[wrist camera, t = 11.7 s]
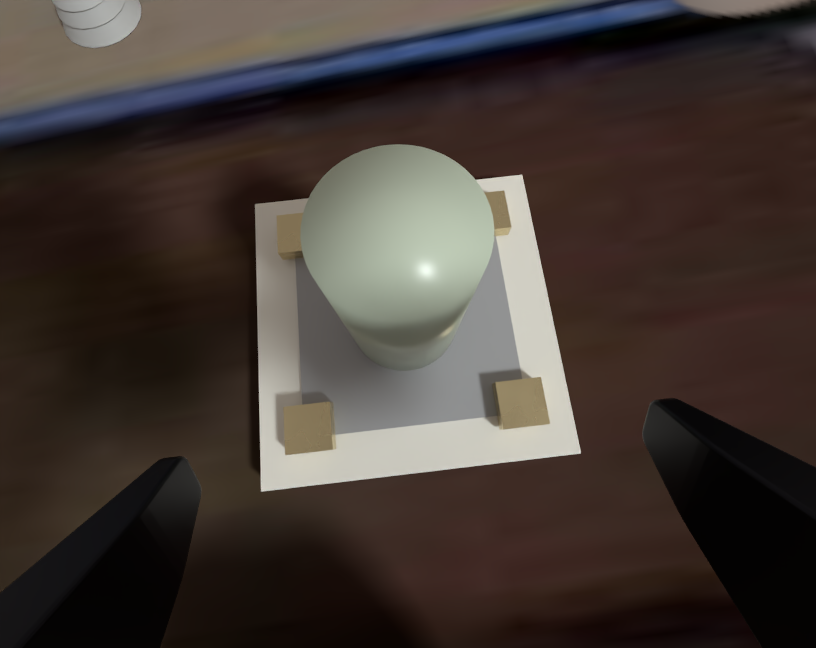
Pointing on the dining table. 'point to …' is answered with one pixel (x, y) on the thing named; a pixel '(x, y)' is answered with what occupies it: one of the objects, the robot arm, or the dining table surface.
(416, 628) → the dining table surface
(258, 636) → the dining table surface
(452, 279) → the sage green capsule
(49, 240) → the dining table surface
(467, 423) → the display tile
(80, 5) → the chalice
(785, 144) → the dining table surface
